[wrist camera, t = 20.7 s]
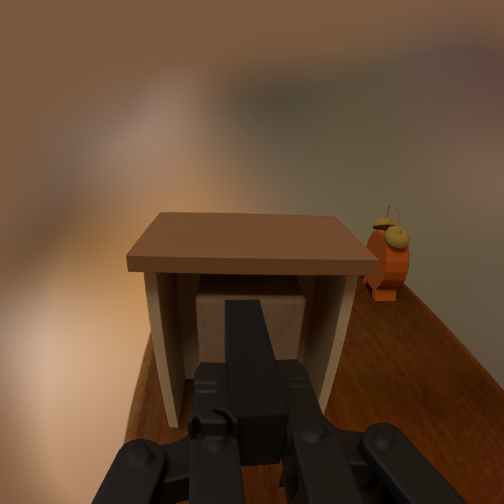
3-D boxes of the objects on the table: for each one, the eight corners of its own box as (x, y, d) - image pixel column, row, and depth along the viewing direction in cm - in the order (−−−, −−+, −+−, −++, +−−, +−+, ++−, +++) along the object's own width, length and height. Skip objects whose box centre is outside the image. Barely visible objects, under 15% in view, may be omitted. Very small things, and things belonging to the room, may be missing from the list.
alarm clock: (400, 304, 67) (420, 219, 59) (376, 304, 67) (394, 216, 59) (381, 278, 79) (395, 203, 72) (359, 278, 79) (372, 201, 71)
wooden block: (205, 432, 35) (194, 297, 28) (208, 380, 45) (204, 254, 37) (284, 431, 36) (307, 298, 29) (276, 380, 45) (290, 255, 38)
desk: (329, 436, 35) (379, 259, 26) (161, 438, 34) (125, 255, 25) (310, 370, 47) (335, 216, 38) (174, 370, 46) (159, 212, 37)
